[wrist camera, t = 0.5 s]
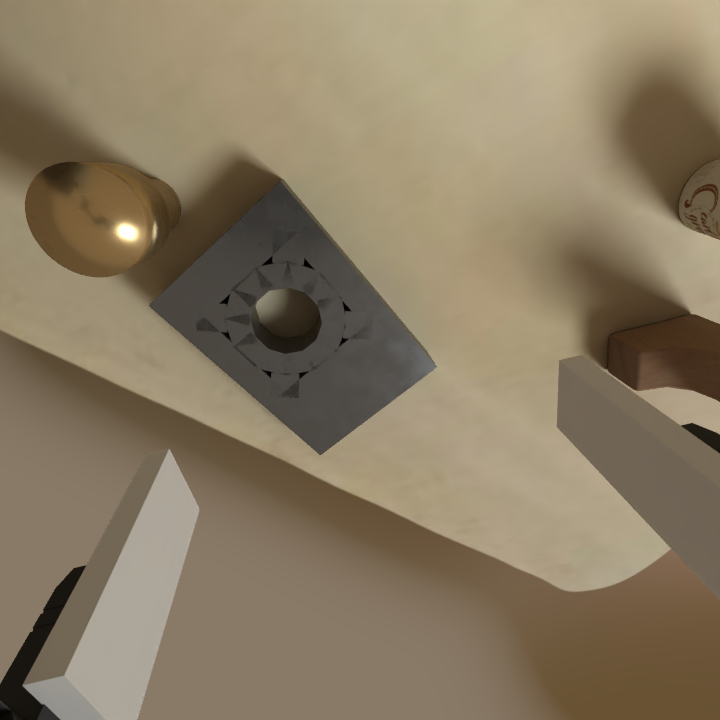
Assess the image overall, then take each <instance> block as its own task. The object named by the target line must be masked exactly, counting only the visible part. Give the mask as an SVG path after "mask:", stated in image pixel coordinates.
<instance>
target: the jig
mask: <svg viewBox="0 0 720 720" xmlns="http://www.w3.org/2000/svg"><path fill="white" fill-rule="evenodd" d="M286 287H289V288H292V289H295V290H298V291H301V292H304V293H306V294H307V295H308V296H309V297H310V298H311V299H312V300H313V301H314V302H315V304H316V305H317V306H318V307H319V312H320V315H319V318H318V321H317V323H316V326H314V327H313V328H312V329H311V330H310V331H308V332H307V333H306V334H305V335H304V336H298V337H293V338H284V337H281V336H277V335H274V334H271V333H270V332H269V331H268V330H267V329H266V328H265V327H264V326H263V325H262V324H261V323H260V321H259V317H258V314H257V310H256V307H255V306H256V303H257V301H258V300H259V299H260V298H261V297H262V296H264V295H265V294H266V293H267V292H268V291H270V290H275V289H281V288H286ZM149 306H150V307H151V308H152V309H153V310H154V311H155V312H157V313H158V314H159V315H160V316H161V317H162V318H163V319H165V320H166V321H167V322H168V323H169V324H170V325H171V326H173V327H174V328H175V329H176V330H177V331H178V332H180V333H181V334H182V335H183V336H184V337H185V338H186V339H188V340H189V341H190V342H191V343H192V344H193V345H194V346H196V347H197V348H198V349H199V350H200V351H201V352H202V353H204V354H205V355H206V356H207V357H208V358H209V359H210V360H212V361H213V362H214V363H215V364H216V365H217V366H219V367H220V368H221V369H222V370H223V371H224V372H225V373H227V374H228V375H229V376H230V377H231V378H232V379H233V380H235V381H236V382H237V383H238V384H239V385H240V386H241V387H243V388H244V389H245V390H246V391H247V392H248V393H250V394H251V395H252V396H253V397H254V398H255V399H256V400H258V401H259V402H260V403H261V404H262V405H263V406H264V407H266V408H267V409H268V410H269V411H270V412H271V413H272V414H274V415H275V416H276V417H277V418H278V419H279V420H280V421H282V422H283V423H284V424H285V425H286V426H287V427H289V428H290V429H291V430H292V431H293V432H294V433H295V434H297V435H298V436H299V437H300V438H301V439H302V440H303V441H305V442H306V443H307V444H308V445H309V446H310V447H311V448H313V449H314V450H315V451H316V452H317V453H318V454H319V455H321V454H323V453H324V452H325V451H327V450H328V449H329V448H331V447H332V446H333V445H335V444H336V443H337V442H339V441H340V440H341V439H343V438H344V437H345V436H347V435H348V434H349V433H351V432H352V431H353V430H354V429H356V428H357V427H358V426H360V425H361V424H362V423H364V422H365V421H366V420H368V419H369V418H370V417H372V416H373V415H374V414H376V413H377V412H378V411H380V410H381V409H382V408H384V407H385V406H386V405H388V404H389V403H390V402H391V401H393V400H394V399H395V398H397V397H398V396H399V395H401V394H402V393H403V392H405V391H406V390H407V389H409V388H410V387H411V386H413V385H414V384H415V383H417V382H418V381H419V380H421V379H422V378H423V377H425V376H426V375H427V374H429V373H430V372H431V371H432V370H434V369H435V368H436V367H437V366H436V365H435V363H434V362H433V360H432V358H431V357H430V355H429V354H428V352H427V351H426V350H425V348H424V347H423V346H422V345H421V344H420V342H419V341H418V340H417V339H416V338H415V336H414V335H413V334H412V333H411V332H410V330H409V329H408V328H407V327H406V326H405V324H404V323H403V322H402V321H401V320H400V318H399V317H398V316H397V315H396V314H395V312H394V311H393V310H392V309H391V308H390V307H389V305H388V304H387V303H386V302H385V301H384V299H383V298H382V297H381V296H380V295H379V293H378V292H377V291H376V290H375V289H374V287H373V286H372V285H371V284H370V283H369V281H368V280H367V279H366V278H365V277H364V275H363V274H362V273H361V272H360V271H359V269H358V268H357V267H356V266H355V265H354V263H353V262H352V261H351V260H350V259H349V258H348V256H347V255H346V254H345V253H344V252H343V250H342V249H341V248H340V247H339V246H338V244H337V243H336V242H335V241H334V240H333V238H332V237H331V236H330V235H329V234H328V232H327V231H326V230H325V229H324V228H323V226H322V225H321V224H320V223H319V222H318V220H317V219H316V218H315V217H314V216H313V214H312V213H311V212H310V211H309V210H308V209H307V207H306V206H305V205H304V204H303V203H302V201H301V200H300V199H299V198H298V197H297V195H296V194H295V193H294V192H293V191H292V189H291V188H290V187H289V186H288V185H287V183H286V182H285V181H284V180H281V181H280V182H279V183H278V184H276V185H275V186H274V187H273V188H272V189H271V190H270V191H269V192H268V193H267V194H266V195H265V196H264V197H263V198H262V199H261V200H260V201H259V202H257V203H256V204H255V205H254V206H253V207H252V208H251V209H250V210H249V211H248V212H247V213H246V214H245V215H244V216H243V217H242V218H241V219H240V220H238V221H237V222H236V223H235V224H234V225H233V226H232V227H231V228H230V229H229V230H228V231H227V232H226V233H225V234H224V235H223V236H222V237H221V238H219V239H218V240H217V241H216V242H215V243H214V244H213V245H212V246H211V247H210V248H209V249H208V250H207V251H206V252H205V253H204V254H203V255H202V256H200V257H199V258H198V259H197V260H196V261H195V262H194V263H193V264H192V265H191V266H190V267H189V268H188V269H187V270H186V271H185V272H184V273H183V274H182V275H180V276H179V277H178V278H177V279H176V280H175V281H174V282H173V283H172V284H171V285H170V286H169V287H168V288H167V289H166V290H165V291H164V292H163V293H161V294H160V295H159V296H158V297H157V298H156V299H155V300H154V301H153V302H152V303H151V304H150V305H149Z"/></svg>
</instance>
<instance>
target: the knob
mask: <svg viewBox="0 0 720 720" xmlns="http://www.w3.org/2000/svg"><path fill="white" fill-rule="evenodd" d="M25 212H26V218H27V222H28V225H29V228H30V230H31V232H32V234H33V236H34V238H35V240H36V241H37V243H38V244H39V245H40V247H41V248H42V249H43V250H44V251H45V252H46V254H48V255H49V256H50V257H51V258H52V259H53V260H54V261H56V262H57V263H58V264H60V265H62V266H63V267H65V268H67V269H69V270H71V271H73V272H75V273H78V274H81V275H85V276H91V277H109V276H113V275H117V274H119V273H122V272H124V271H125V270H127V269H129V268H131V267H132V266H134V265H136V264H138V263H139V262H141V261H143V260H145V259H146V258H148V257H150V256H152V255H153V254H155V253H156V252H157V251H158V250H159V249H160V248H161V247H162V246H163V244H164V242H165V241H166V238H167V236H168V232H169V229H171V228H173V227H174V226H175V225H176V224H177V222H178V221H179V218H180V215H181V204H180V201H179V198H178V196H177V194H176V193H175V191H174V190H173V189H172V188H171V187H170V186H169V185H168V184H166V183H165V182H163V181H161V180H159V179H156V178H147V177H146V176H144V175H143V174H142V173H140V172H138V171H137V170H135V169H133V168H131V167H128V166H125V165H122V164H117V163H92V162H66V163H59V164H55V165H52V166H50V167H48V168H46V169H44V170H43V171H41V172H40V173H39V174H38V175H37V176H36V177H35V178H34V179H33V181H32V182H31V184H30V186H29V188H28V191H27V194H26V200H25Z"/></svg>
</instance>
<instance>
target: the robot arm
mask: <svg viewBox="0 0 720 720" xmlns="http://www.w3.org/2000/svg"><path fill="white" fill-rule="evenodd" d="M557 427H558V429H559V430H560V431H561V432H562V433H563V434H564V435H565V436H566V437H567V438H568V439H569V440H570V441H571V442H572V443H573V444H574V446H575V447H576V448H577V449H578V450H579V451H580V452H581V453H582V454H583V455H584V456H585V457H586V458H587V459H588V460H589V462H590V463H591V464H592V465H593V466H594V467H595V468H596V469H597V470H598V471H599V472H600V473H601V474H602V475H603V476H604V477H605V479H606V480H607V481H608V482H609V483H610V484H611V485H612V486H613V487H614V488H615V489H616V490H617V491H618V492H619V493H620V494H621V496H622V497H623V498H624V499H625V500H626V501H627V502H628V503H629V504H630V505H631V506H632V507H633V508H634V509H635V510H636V511H637V513H638V514H639V515H640V516H641V517H642V518H643V519H644V520H645V521H646V522H647V523H648V524H649V525H650V526H651V527H652V529H653V530H654V531H655V532H656V533H657V534H658V535H659V536H660V537H661V538H662V539H663V540H664V541H665V542H666V543H667V544H668V546H669V547H670V548H671V549H672V550H673V551H674V552H675V553H676V554H677V555H678V556H679V557H680V558H681V559H682V560H683V561H684V563H685V564H686V565H687V566H688V567H689V568H690V569H691V570H692V571H693V572H694V573H695V574H696V575H697V576H698V577H699V579H701V580H702V582H703V583H704V584H705V585H706V586H707V587H708V588H709V589H710V590H711V591H712V592H713V593H714V594H715V595H716V597H717V598H718V599H719V600H720V435H719V434H718V433H716V432H713V431H711V430H708V429H706V428H703V427H701V426H698V425H696V424H693V423H690V424H686V425H682V426H680V425H679V424H677V423H676V422H675V421H673V420H672V419H670V418H669V417H668V416H666V415H665V414H663V413H662V412H660V411H659V410H658V409H656V408H655V407H653V406H652V405H651V404H649V403H648V402H646V401H645V400H644V399H642V398H641V397H639V396H638V395H637V394H635V393H634V392H632V391H631V390H630V389H628V388H627V387H625V386H624V385H623V384H621V383H620V382H618V381H617V380H616V379H614V378H613V377H611V376H610V375H608V374H607V373H606V372H604V371H603V370H601V369H600V368H599V367H597V366H596V365H594V364H593V363H592V362H590V361H589V360H587V359H586V358H585V357H583V356H582V355H580V356H576V357H571V358H567V359H562V360H559V380H558V409H557ZM198 513H199V507H198V505H197V503H196V501H195V499H194V497H193V495H192V493H191V491H190V489H189V487H188V485H187V483H186V481H185V479H184V477H183V475H182V473H181V471H180V469H179V467H178V465H177V463H176V461H175V459H174V457H173V455H172V453H171V451H170V449H166V450H162V451H157V452H153V453H148V454H146V455H145V457H144V459H143V460H142V462H141V464H140V466H139V468H138V470H137V472H136V474H135V475H134V477H133V479H132V481H131V483H130V485H129V487H128V489H127V491H126V493H125V494H124V496H123V498H122V500H121V502H120V504H119V506H118V508H117V509H116V511H115V513H114V515H113V517H112V519H111V520H110V522H109V524H108V526H107V528H106V530H105V532H104V533H103V535H102V537H101V539H100V541H99V543H98V545H97V547H96V548H95V550H94V552H93V554H92V556H91V558H90V560H89V562H88V564H87V565H86V566H81V567H77V568H74V569H73V570H72V571H71V572H70V573H69V574H68V575H67V576H66V578H65V579H64V580H63V581H62V582H61V583H60V584H59V585H58V586H57V587H56V589H55V590H54V592H53V594H52V595H51V597H50V599H49V601H48V602H47V604H46V606H45V607H44V609H43V611H44V612H43V614H40V616H39V618H38V620H37V621H36V623H35V625H34V627H33V632H30V633H29V635H28V637H27V639H26V640H25V642H24V644H23V646H22V647H21V649H20V651H19V652H18V654H17V656H16V658H15V659H14V661H13V663H12V665H11V667H10V668H9V670H8V671H7V673H6V675H5V677H4V679H3V680H2V682H1V684H0V720H137V718H138V715H139V712H140V708H141V705H142V702H143V698H144V695H145V691H146V688H147V685H148V681H149V678H150V675H151V671H152V668H153V665H154V661H155V658H156V654H157V651H158V648H159V644H160V641H161V638H162V634H163V631H164V628H165V624H166V621H167V617H168V614H169V611H170V607H171V604H172V601H173V597H174V594H175V591H176V587H177V584H178V580H179V577H180V573H181V570H182V567H183V564H184V560H185V557H186V553H187V550H188V546H189V543H190V540H191V536H192V533H193V530H194V527H195V523H196V520H197V516H198Z"/></svg>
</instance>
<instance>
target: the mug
mask: <svg viewBox="0 0 720 720" xmlns="http://www.w3.org/2000/svg"><path fill="white" fill-rule="evenodd" d="M679 215H680V218H681V220H682V222H683V223H684V224H685V225H686V226H687V227H688V228H690V229H692V230H694V231H697V232H699V233H702V234H705V235H708V236H711V237H714V238H717V239H719V240H720V159H718V160H714V161H711V162H709V163H707V164H706V165H704V166H702V167H701V168H700V169H699V170H697V171H696V172H695V173H694V174H693V175H692V177H691V178H690V179H689V180H688V182H687V183H686V185H685V187H684V189H683V191H682V194H681V197H680V201H679Z"/></svg>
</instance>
